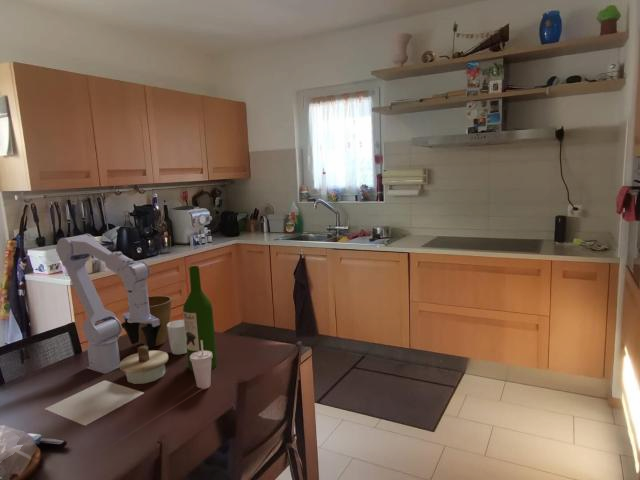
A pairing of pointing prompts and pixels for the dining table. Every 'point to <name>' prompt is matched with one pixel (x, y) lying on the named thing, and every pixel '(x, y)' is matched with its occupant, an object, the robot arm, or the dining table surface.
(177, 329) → the white cup
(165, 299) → the plant pot
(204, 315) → the wine bottle
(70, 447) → the dining table surface
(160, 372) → the bowl
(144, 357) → the lid
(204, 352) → the smoothie
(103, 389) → the mat
